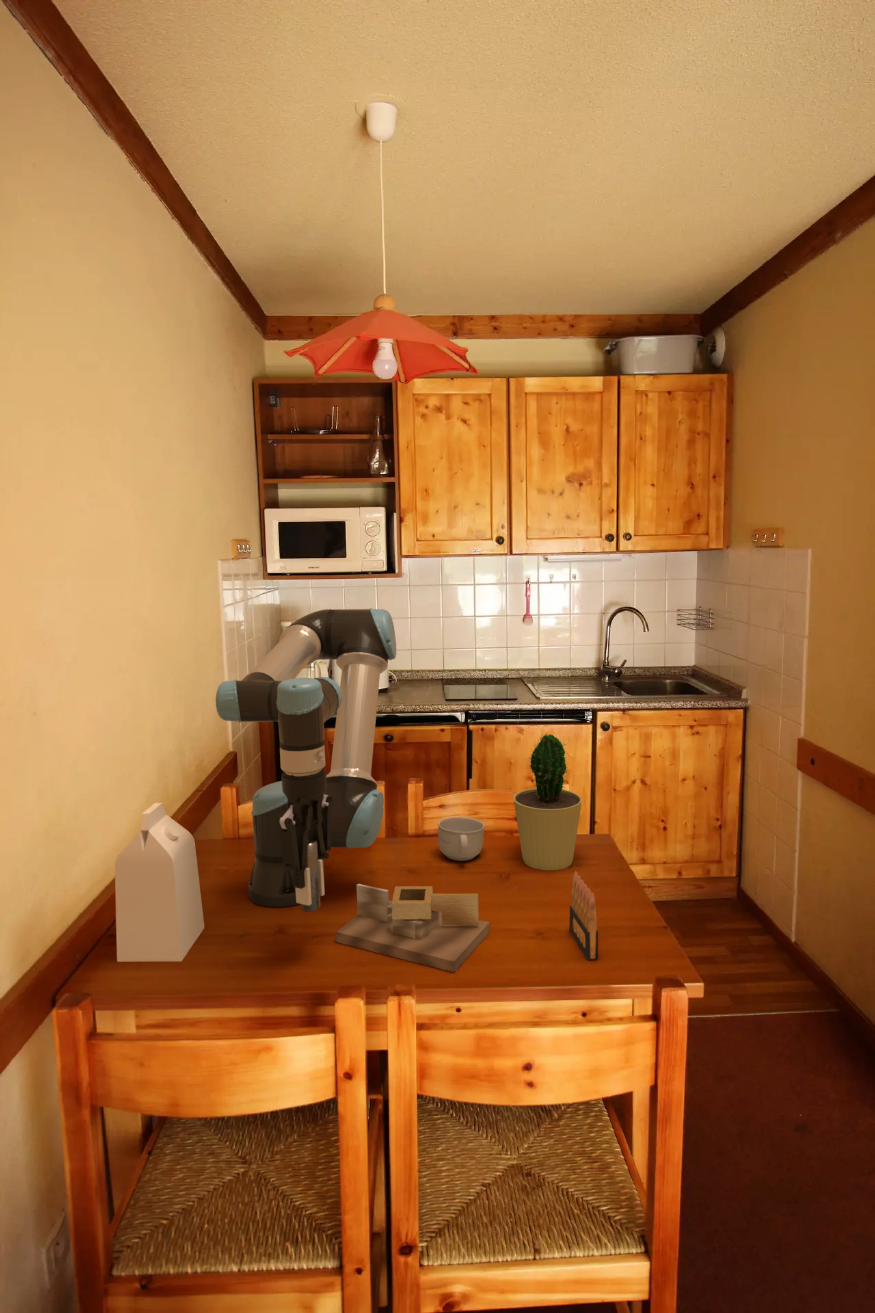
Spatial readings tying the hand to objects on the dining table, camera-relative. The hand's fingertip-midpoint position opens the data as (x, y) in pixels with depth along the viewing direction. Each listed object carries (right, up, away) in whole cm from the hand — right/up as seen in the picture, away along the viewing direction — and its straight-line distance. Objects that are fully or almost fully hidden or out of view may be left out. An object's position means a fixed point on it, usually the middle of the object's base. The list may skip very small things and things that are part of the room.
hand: (310, 898), depth 132 cm
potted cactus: (+47, -4, +40) cm, 62 cm away
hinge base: (+18, -9, +7) cm, 21 cm away
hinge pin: (0, -2, 0) cm, 2 cm away
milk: (-28, -11, +7) cm, 31 cm away
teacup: (+28, -5, +42) cm, 51 cm away
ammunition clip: (+48, -10, +3) cm, 49 cm away
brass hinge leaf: (+22, -7, +7) cm, 24 cm away
